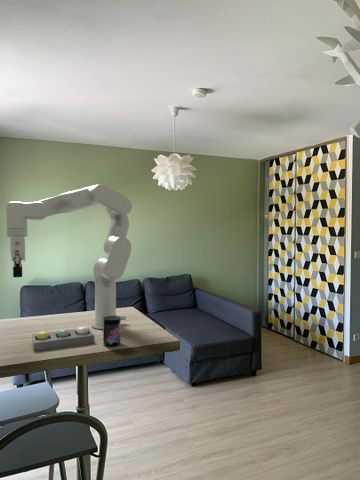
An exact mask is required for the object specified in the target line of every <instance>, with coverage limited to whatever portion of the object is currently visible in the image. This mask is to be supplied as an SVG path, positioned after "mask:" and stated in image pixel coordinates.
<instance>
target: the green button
mask: <svg viewBox="0 0 360 480" xmlns="http://www.w3.org/2000/svg"><path fill="white" fill-rule="evenodd" d="M69 330H70V329H69V328H60V329H58V330H56V332H57V338H59V337H67V336H69Z"/></svg>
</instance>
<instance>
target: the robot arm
mask: <svg viewBox="0 0 360 480" xmlns="http://www.w3.org/2000/svg"><path fill="white" fill-rule="evenodd" d="M96 205H102V206H104V207H105V211H106V212H107V214H108V215H109V219H110V227H109V230H108V233H107V235H106V238H105V241H104V243H103V246H102V247H103V252H104V253H105V254H107V255H108V256H107V257H100V258H98V259H97V260H96V261H95V262H94V265H93V268H92V269H93V270H92V271H93V279H94V321H93V322H92V323H91V327H92V328H93V329H98V330H103V318H104V317H106V316H119V317H121V321H126V320H127V316H126V315H117V307H116V306H117V284H116V281H118V280H119V279H121V278H122V276H123V275H124V273H125V271H126V268H127V265H128V262H129V259H130V256H131V253H132V242H131V241H130V240H129V238H128V237H127V235H128V231H129V228H130V221H129V220H130V219H129V217H128V215H129V214H130V213H131V212H132V210H133V202H132V201H131V200H130V198H129V197H128V196H126V195H125V194H122V193H120V192H118V191H117V190H115V189H113V188H111V187H109V186H107V185H105V184H101V183H98V184H94V185H90V186H86V187H83V188H79V189H75V190H71V191H67V192H63V193H61V194H58V195H56V196H53V197H49V198H45V199H41V200H39V201H33V202H32V201H31V202H24V201H23V202H22V201H9V202H7V203H6V205H5V208H6V209H5V211H6V212H5V213H6V214H5V215H6V217H5V219H6V221H5V222H6V237H8V238H9V245H10V249H9V250H10V258H11V261H12V262H13V266H12V277H13V278H22V277H23V264H22V261H23V262H25V261H26V237H28V220H30V221H43V220H45V219H46V218H48V217H51V216H55V215H59V214H68V213H72V212H76V211H79V210H83V209H85V208H89V207H93V206H96Z"/></svg>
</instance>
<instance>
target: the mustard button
mask: <svg viewBox="0 0 360 480" xmlns="http://www.w3.org/2000/svg"><path fill="white" fill-rule="evenodd" d="M36 334H37V340H43V339H49V331H48V330H42V331H39V332H37V333H36Z"/></svg>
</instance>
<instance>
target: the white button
mask: <svg viewBox="0 0 360 480" xmlns="http://www.w3.org/2000/svg"><path fill="white" fill-rule="evenodd" d="M88 328H89V327H88V326H78V327H76V329H77V335H83V334H88Z"/></svg>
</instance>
